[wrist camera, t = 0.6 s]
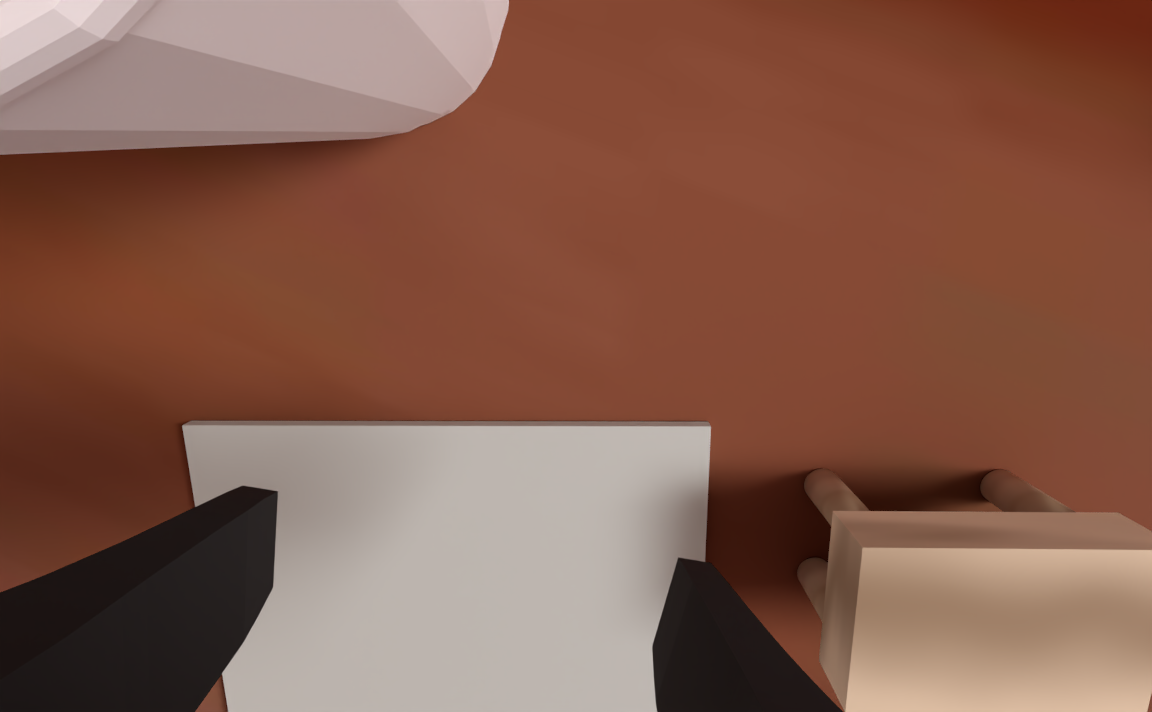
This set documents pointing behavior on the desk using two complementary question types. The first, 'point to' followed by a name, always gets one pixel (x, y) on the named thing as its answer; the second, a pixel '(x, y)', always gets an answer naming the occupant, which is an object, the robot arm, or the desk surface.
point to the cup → (234, 70)
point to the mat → (460, 560)
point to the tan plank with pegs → (982, 604)
